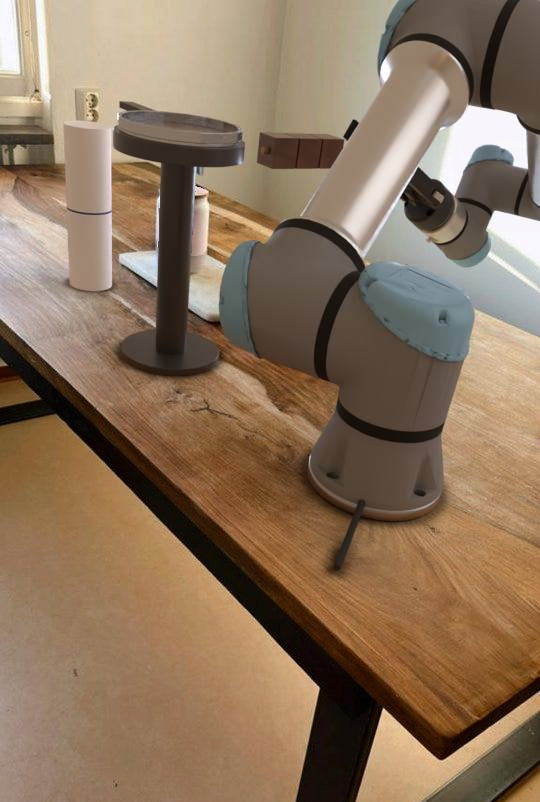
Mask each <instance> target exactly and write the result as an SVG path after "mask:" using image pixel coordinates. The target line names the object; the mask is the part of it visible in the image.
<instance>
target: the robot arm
mask: <svg viewBox="0 0 540 802" xmlns="http://www.w3.org/2000/svg"><path fill="white" fill-rule="evenodd" d="M384 26H385V27H384V28H385V30H384V33H382V34H381V35H380V39H379V43H378V48H377V56H376V57H377V58H376V71H377V76H378V80H379V87H380V90H379V91H378V93H377V94H376V96H375V97H374V99H373V100H372V102H371V104H370V105H369V107H368V108H367V110H366V111H365V113H364V115H363V116H362V118H361V119H360V121H358V120H357V119H352V120H351V122H350V124H349V125H348V128H347V129H346V131H345V133H344V134H343V139H344V140H345V141H346V143H345V144H344V146H343V149H342V151H341V152H340V154H339V156H338V157H337V159H336V160H335V162H334V164H333V165H332V167H331V168H330V169H328V171H327V173H326V174H325V176H324V178H323V179H322V181H321V183H320V184H319V186H318V187H317V189H316V190H315V192H314V193H313V195H312V197H311V198H310V200H309V201H308V203H307V204H306V206H305V207H304V209H303V211H302V212H301V214H300V215H293V216H289V217H287V218H284V219H283V220H281V222H279V223H278V225H276V227H275V228H274V230H273V232H272V233H271V235H270V236H269V238H268V240H267V241H266V242H262V241H261V240H260V241H259V240H257V239H252V240H245V241H242V242H241V243H239V244H238V245H237V246H236V247H235V248H234V250H233V251H232V252H231V254H230V256H229V257H228V260H227V262H226V264H225V267H224V271H223V274H222V276H221V281H220V286H219V294H218V295H219V299H218V315H219V322H220V326H221V329H222V331H223V335H224V336H225V338H226V339H227V341H228V342H229V343H230V344H231V345H233V346H234V347H235V348H237V349H239V350H242V351H244V352H247V353H249V354H252V355H253V356H254V358H256V359H259V360H266V361H268V362H272V363H274V364H277V365H280V366H283V367H286V368H289V369H291V370H294V371H297V372H300V373H302V374H306V375H308V376H310V377H314V378H317V379H319V380H323V381H325V382H328V383H330V384H333V385H336V386H338V387H339V388H338V395H337V400H336V405H335V410H334V411H333V413H332V415H331V417H330V419H329V420H328V422H327V423H326V425H325V427H324V429H323V430H322V432H321V433H320V435H319V437H318V438H317V440H316V442H315V444H314V445H313V447H312V448H311V449H312V450H311V452H310V455H309V458H308V464H307V470H306V471H307V478H308V480H309V483H310V484H311V486H312V488H313V489H314V490H315V491H316V493H317V494H318V495H320V496H321V497H322V498H323V499H324V500H325V501H327V502H329V503H330V504H332V505H333V506H335V507H337V508H339V509H340V510H343V511H345V512H347V513H349V514H353V515H352V517H351V520H350V523H349V525H348V528H347V530H346V533H345V535H344V538H343V541H342V544H341V546H340V548H339V551H338V553H337V555H336V558H335V560H334V563H333V565H332V569H333V570H334V571H336V572H337V571H340V570H341V568H342V566H343V563H344V561H345V559H346V556H347V553H348V551H349V549H350V546H351V543H352V541H353V538H354V535H355V534H356V533H355V532H356V530H357V527H358V525H359V521H360V519H361V517H362V518H367V519H371V520H376V521H377V520H378V521H387V522H400V521H408V520H409V521H410V520H413V519H417V518H421V517H423V516H425V515H427V514H429V513H430V512H432V511H433V510H434V509H435V508H436V507H437V505H438V503H439V502H440V499H441V496H442V492H443V489H444V481H445V475H444V473H445V472H444V457H443V441H442V440H443V439H442V434H443V431H444V427H445V425H446V420H447V418H448V414H449V411H450V408H451V405H452V401H453V397H454V395H455V391H456V388H457V385H458V383H459V382H458V381H459V378H460V376H461V372H462V368H463V366H464V362H465V360H466V358H467V356H468V355H469V352H470V341H471V337H472V333H473V329H474V325H475V318H476V314H475V313H476V311H475V308H474V304H473V302H472V301H471V299H470V298H469V296H468V295H467V294H466V293H465V292H464V291H463V290H462V289H461V288H460V287H459V286H457V285H456V284H454V283H453V282H452V281H451V280H448V279H447V278H445V277H443V276H441V275H439V274H436V273H434V272H432V271H429V270H427V269H425V268H421V267H418V266H416V265H411V264H407V263H405V264H400V263H398V262H396V261H387V260H385V261H384V260H381V261H374V262H371V263H369V264H367V261H366V259H365V258H366V256H367V255H368V252H369V251H370V249H371V248H372V246H373V245H374V243H375V241H376V239H377V237H378V236H379V234H380V232H381V230H382V229H383V227H384V226H385V223H386V222H387V221H388V219H389V217H390V215H391V214H392V213H393V210H394V208H395V207H396V205H397V204H398V201H399V200H400V201H402V202H403V212H404V216H405V217H406V219H407V220H408V221H409V222H410V223H411V224H412V225H413V226H415V228H417V229H418V230H419V231H420V232H421V233H422V234H423V235H424V236H426V237H427V238H426V239H425V241H426V243H429V244H431V243H432V244H434V245H435V246H436V247H437V248H438V249H439V250H440V251H441V252H442V253H443V254H444V257H446V259H448V260H450V261H452V262H453V263H454V264H455V265H456V266H458V267H461V268H472V267H476V266H477V265H478V264H480V263H482V262H484V260H485V259H486V258H487V256H488V255H489V254H490V251H491V248H492V239H491V237H490V234H489V231H487V228H488V226H489V224H490V222H491V220H492V217H493V215H494V213H495V212H498V213H499V212H500V213H504V214H508V215H509V214H510V215H513V216H517V217H520V218H525V219H527V220H528V219H529V220H533V221H536V222H540V0H397V2H396V3H395V5H394V6H393V8H392V9H391V11H390V12H389V15H388V17H387V19H386V21H385V24H384ZM469 106H470V107H476V108H480V109H487V110H493V111H501V112H506V113H509V114H513V115H515V116H516V119H517V122H518V123H519V125H520V126H521V127H522V128H523V129H524V135H525V136H524V137H525V147H526V161H527V168H526V167H522V166H517V165H514V164H515V158H514V155H513V153H512V152H510V151H509V150H508V149H506V148H502V147H501V146H500V145H497V144H483V145H479V146H478V147H476V148H475V149H474V150H473V152H472V153H471V156H470V158H469V160H468V162H467V164H466V166H465V167H464V169H463V171H462V174H461V178H460V181H459V183H458V186H457V188H456V190H455V194H454V193H452V191H450V190H449V189H448V187H447V186H446V185H445V184H444V183H443V182H442V181H441V180H439V179H437V178H431V177H430V176H429V175H428V174H427V173H425V171H424V170H422V169H421V167H419V166H420V164H421V162H422V161H423V159H424V157H425V156H426V154H427V152H428V151H429V149H430V148H431V145H432V144H433V142H434V141H435V139H436V137H437V135H438V133H439V132H440V131H441V130H444V129H448V128H450V127H451V126H453V125H454V124H456V123H458V121H459V120H460V119H461V118H462V117H463V115H464V114H465V112H466V110H467V109H468V107H469Z"/></svg>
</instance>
